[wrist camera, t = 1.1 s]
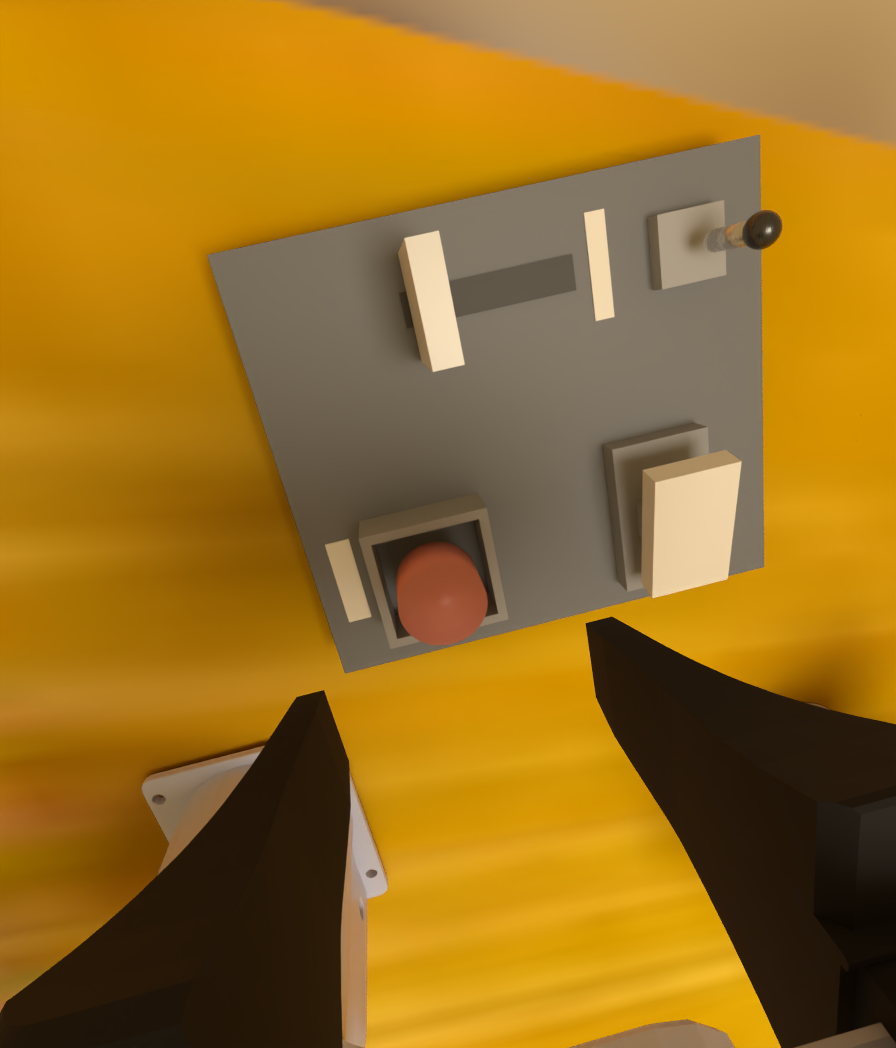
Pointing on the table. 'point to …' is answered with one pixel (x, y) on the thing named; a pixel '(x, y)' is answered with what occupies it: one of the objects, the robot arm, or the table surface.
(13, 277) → the table surface
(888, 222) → the table surface
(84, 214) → the table surface
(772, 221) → the steel toggle lever
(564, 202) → the switch panel
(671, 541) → the block
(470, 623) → the red push button
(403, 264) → the tan flat upright block
